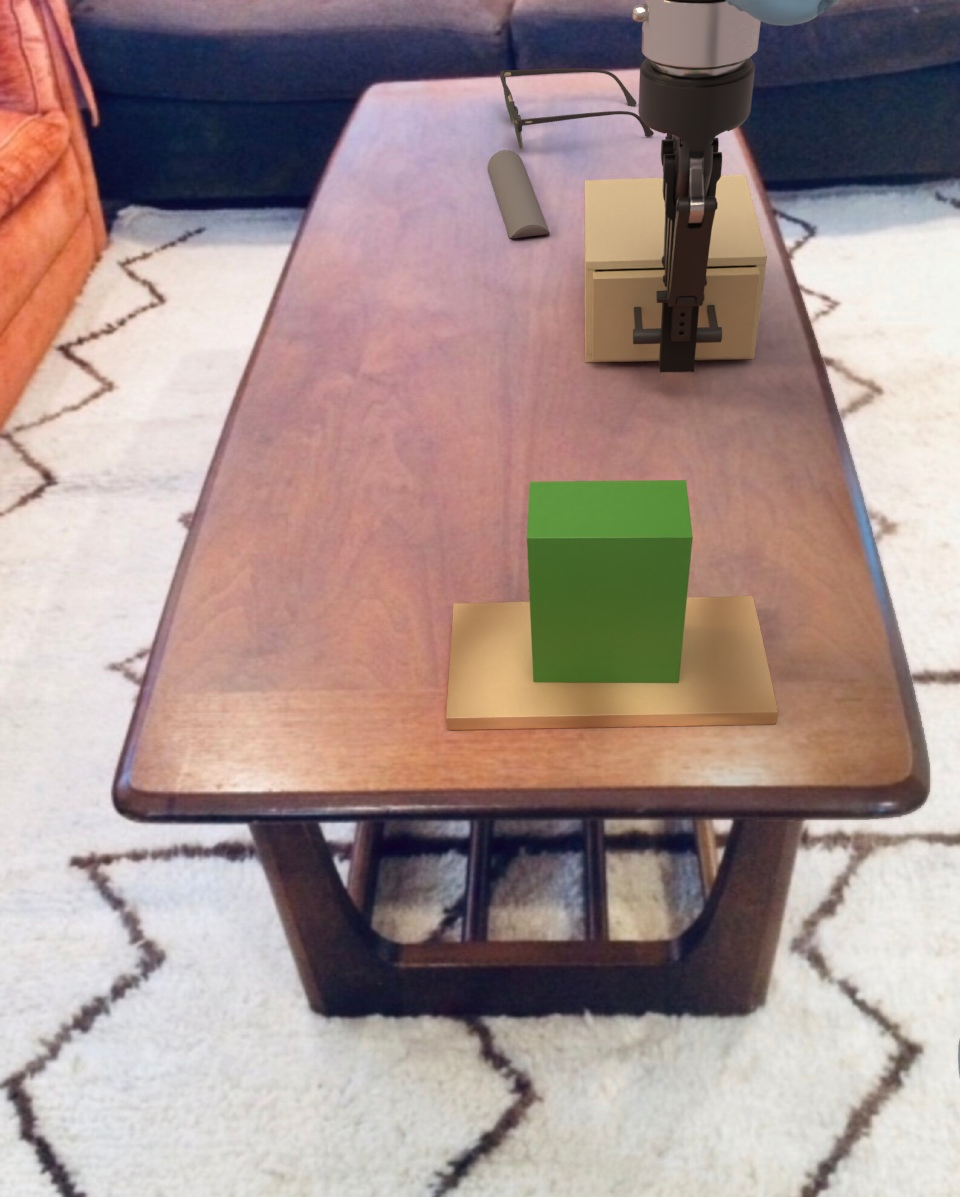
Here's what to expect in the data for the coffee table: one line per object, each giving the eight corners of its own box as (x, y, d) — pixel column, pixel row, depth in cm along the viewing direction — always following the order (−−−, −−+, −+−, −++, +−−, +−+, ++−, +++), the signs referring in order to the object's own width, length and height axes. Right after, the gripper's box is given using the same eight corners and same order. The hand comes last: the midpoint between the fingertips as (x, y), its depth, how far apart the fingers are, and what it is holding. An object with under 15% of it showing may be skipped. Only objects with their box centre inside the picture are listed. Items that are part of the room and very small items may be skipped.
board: (751, 608, 74) (753, 595, 73) (775, 724, 66) (778, 711, 66) (454, 615, 75) (453, 603, 74) (447, 730, 68) (445, 718, 67)
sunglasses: (659, 147, 128) (661, 103, 125) (516, 162, 128) (514, 118, 124) (631, 96, 140) (632, 54, 136) (499, 110, 139) (497, 69, 136)
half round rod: (510, 243, 113) (510, 227, 112) (486, 167, 127) (485, 151, 126) (551, 239, 113) (551, 222, 112) (522, 163, 127) (522, 147, 126)
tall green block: (678, 683, 68) (692, 537, 59) (533, 682, 69) (526, 538, 60) (673, 625, 71) (686, 479, 63) (535, 625, 72) (529, 481, 64)
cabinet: (754, 359, 95) (767, 256, 88) (585, 362, 96) (585, 261, 90) (735, 271, 106) (746, 174, 99) (584, 275, 107) (584, 179, 101)
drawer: (756, 389, 90) (767, 304, 85) (592, 392, 91) (593, 308, 86) (732, 274, 104) (741, 195, 99) (590, 278, 105) (591, 200, 100)
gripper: (636, 29, 77) (626, 327, 93) (644, 95, 68) (632, 414, 84) (744, 23, 76) (716, 325, 93) (768, 90, 67) (731, 412, 84)
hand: (676, 367), depth 88 cm, fingers closed
